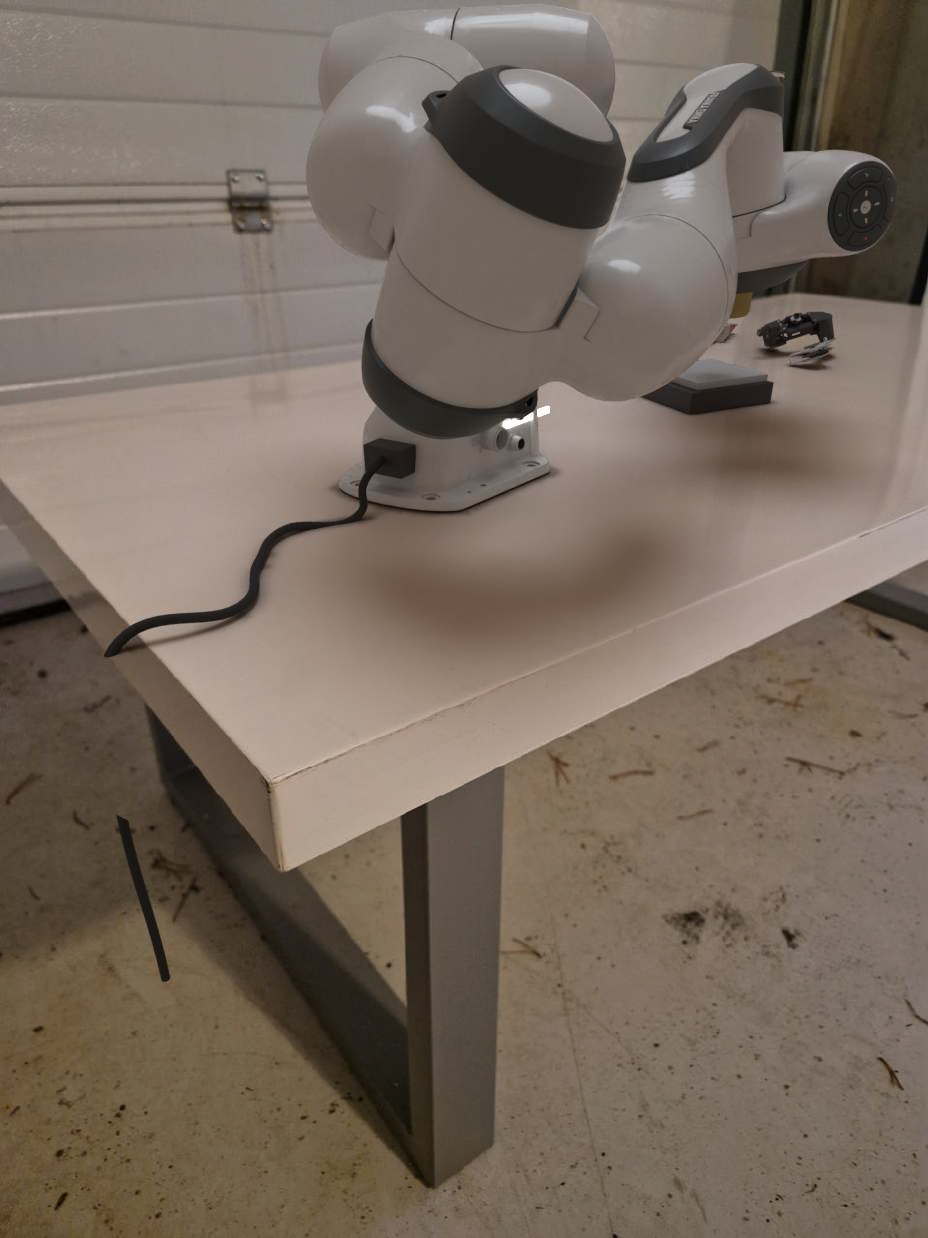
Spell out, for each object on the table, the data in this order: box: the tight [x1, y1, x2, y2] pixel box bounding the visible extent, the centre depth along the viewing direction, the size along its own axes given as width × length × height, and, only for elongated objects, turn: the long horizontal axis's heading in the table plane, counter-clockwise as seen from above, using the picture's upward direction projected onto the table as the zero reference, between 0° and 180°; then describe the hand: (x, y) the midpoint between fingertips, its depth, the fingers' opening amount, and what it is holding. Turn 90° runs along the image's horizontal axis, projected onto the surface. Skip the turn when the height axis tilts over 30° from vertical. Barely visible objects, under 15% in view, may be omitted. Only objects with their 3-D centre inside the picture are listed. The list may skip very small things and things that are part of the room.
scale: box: [641, 357, 775, 415], centre depth 110 cm, size 13×13×4 cm
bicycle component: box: [756, 311, 837, 366], centre depth 130 cm, size 12×7×15 cm
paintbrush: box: [713, 322, 739, 343], centre depth 144 cm, size 4×3×20 cm
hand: (733, 196), depth 97 cm, fingers closed on paper tube, 7 cm apart
